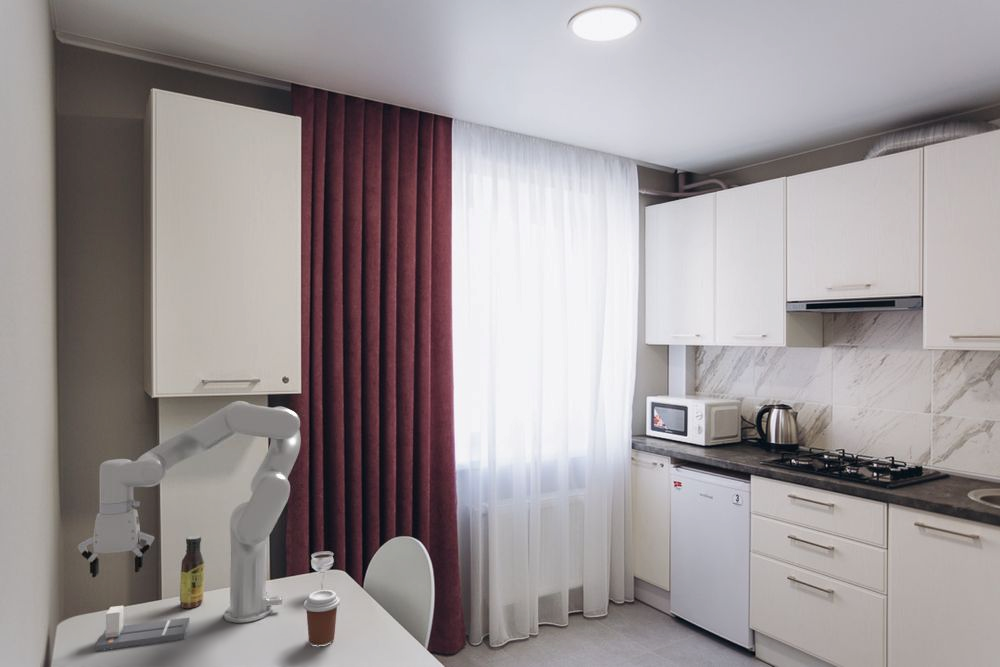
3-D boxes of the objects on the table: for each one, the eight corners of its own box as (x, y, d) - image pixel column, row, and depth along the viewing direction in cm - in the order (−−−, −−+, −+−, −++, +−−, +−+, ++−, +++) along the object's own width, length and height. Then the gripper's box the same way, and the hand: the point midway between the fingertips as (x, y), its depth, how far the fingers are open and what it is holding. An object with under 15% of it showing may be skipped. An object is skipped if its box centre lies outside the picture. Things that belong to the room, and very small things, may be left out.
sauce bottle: (193, 610, 180) (194, 541, 180) (174, 608, 181) (175, 540, 181) (208, 601, 186) (209, 534, 186) (190, 599, 187) (191, 533, 188)
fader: (123, 627, 164) (123, 605, 164) (118, 636, 159) (119, 612, 159) (110, 629, 163) (110, 606, 163) (105, 637, 158) (105, 614, 158)
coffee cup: (301, 636, 164) (302, 591, 164) (336, 630, 167) (337, 586, 167) (305, 652, 155) (305, 604, 155) (342, 645, 159) (342, 598, 159)
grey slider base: (189, 622, 172) (189, 617, 172) (184, 639, 162) (184, 632, 162) (106, 633, 165) (106, 627, 165) (95, 651, 155) (95, 644, 155)
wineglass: (306, 597, 189) (307, 557, 189) (316, 588, 196) (317, 550, 196) (327, 598, 188) (327, 559, 188) (337, 590, 195) (337, 551, 195)
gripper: (156, 500, 168) (156, 563, 168) (82, 507, 163) (82, 572, 162) (151, 507, 161) (151, 573, 161) (73, 514, 155) (73, 582, 155)
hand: (116, 573), depth 162 cm, fingers open, 9 cm apart
